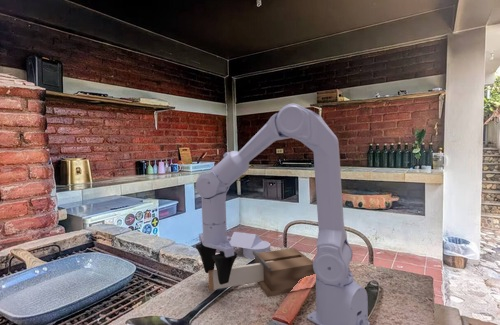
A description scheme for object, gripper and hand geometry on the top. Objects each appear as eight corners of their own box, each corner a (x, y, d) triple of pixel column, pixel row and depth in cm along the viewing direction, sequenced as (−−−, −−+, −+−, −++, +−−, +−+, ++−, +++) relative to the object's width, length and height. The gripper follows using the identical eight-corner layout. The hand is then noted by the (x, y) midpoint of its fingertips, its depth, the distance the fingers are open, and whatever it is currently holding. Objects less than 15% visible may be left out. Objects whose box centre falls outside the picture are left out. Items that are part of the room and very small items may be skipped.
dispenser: (294, 268, 82) (294, 245, 82) (316, 287, 71) (315, 260, 71) (251, 275, 78) (251, 251, 78) (267, 296, 67) (267, 268, 67)
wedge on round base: (227, 255, 94) (263, 261, 88) (227, 235, 93) (263, 240, 88) (240, 246, 102) (274, 251, 96) (240, 228, 102) (274, 232, 96)
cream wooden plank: (273, 277, 74) (273, 260, 74) (275, 278, 73) (274, 262, 73) (208, 288, 69) (208, 270, 69) (209, 290, 68) (208, 272, 68)
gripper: (244, 225, 65) (246, 283, 65) (215, 214, 77) (217, 263, 77) (217, 230, 61) (219, 292, 61) (190, 218, 73) (192, 270, 73)
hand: (216, 277), depth 69 cm, fingers open, 7 cm apart
